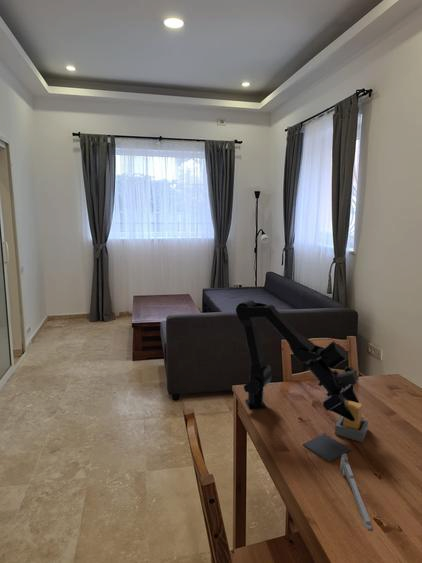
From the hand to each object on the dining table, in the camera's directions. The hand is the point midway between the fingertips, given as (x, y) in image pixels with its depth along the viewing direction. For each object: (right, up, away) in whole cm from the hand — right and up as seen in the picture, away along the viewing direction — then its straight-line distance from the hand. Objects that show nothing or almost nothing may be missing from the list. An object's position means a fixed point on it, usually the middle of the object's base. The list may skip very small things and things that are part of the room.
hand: (357, 414), depth 122 cm
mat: (-12, -8, -7) cm, 16 cm away
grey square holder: (-1, -6, +2) cm, 7 cm away
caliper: (-11, -12, -27) cm, 31 cm away
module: (-1, -6, +2) cm, 7 cm away
